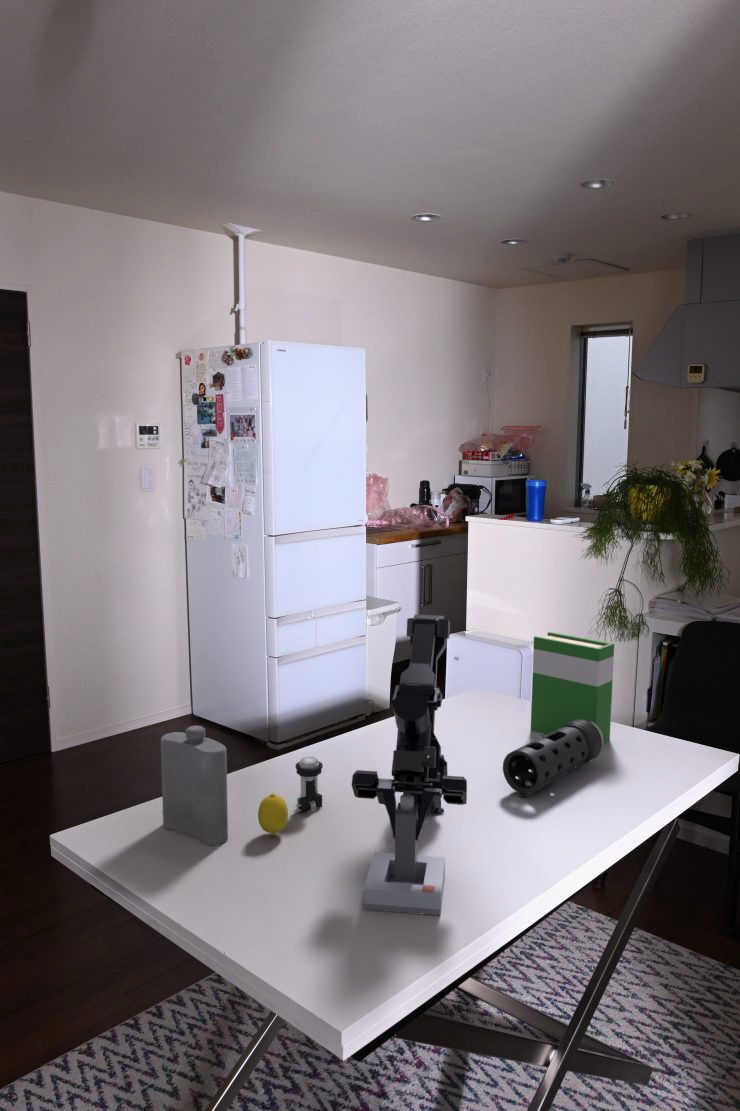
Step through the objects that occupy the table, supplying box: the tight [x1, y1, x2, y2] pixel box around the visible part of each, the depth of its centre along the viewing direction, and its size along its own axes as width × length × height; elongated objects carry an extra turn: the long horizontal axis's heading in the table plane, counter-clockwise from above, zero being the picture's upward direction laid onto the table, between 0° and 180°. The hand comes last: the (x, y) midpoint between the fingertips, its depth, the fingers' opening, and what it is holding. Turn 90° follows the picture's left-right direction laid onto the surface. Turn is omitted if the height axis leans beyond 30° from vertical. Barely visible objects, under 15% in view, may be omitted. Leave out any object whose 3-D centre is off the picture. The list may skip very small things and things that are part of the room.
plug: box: [394, 794, 419, 881], centre depth 141 cm, size 4×3×13 cm
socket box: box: [363, 851, 446, 916], centre depth 142 cm, size 12×12×4 cm
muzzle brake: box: [502, 719, 604, 798], centre depth 189 cm, size 10×28×10 cm, turn 138°
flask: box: [160, 725, 229, 847], centre depth 162 cm, size 15×6×20 cm, turn 54°
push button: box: [291, 756, 324, 814], centre depth 172 cm, size 7×5×10 cm
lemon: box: [257, 793, 289, 836], centre depth 162 cm, size 6×6×8 cm
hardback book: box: [530, 631, 615, 744], centre depth 214 cm, size 18×7×24 cm, turn 48°
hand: (405, 838), depth 140 cm, fingers closed on plug, 3 cm apart
